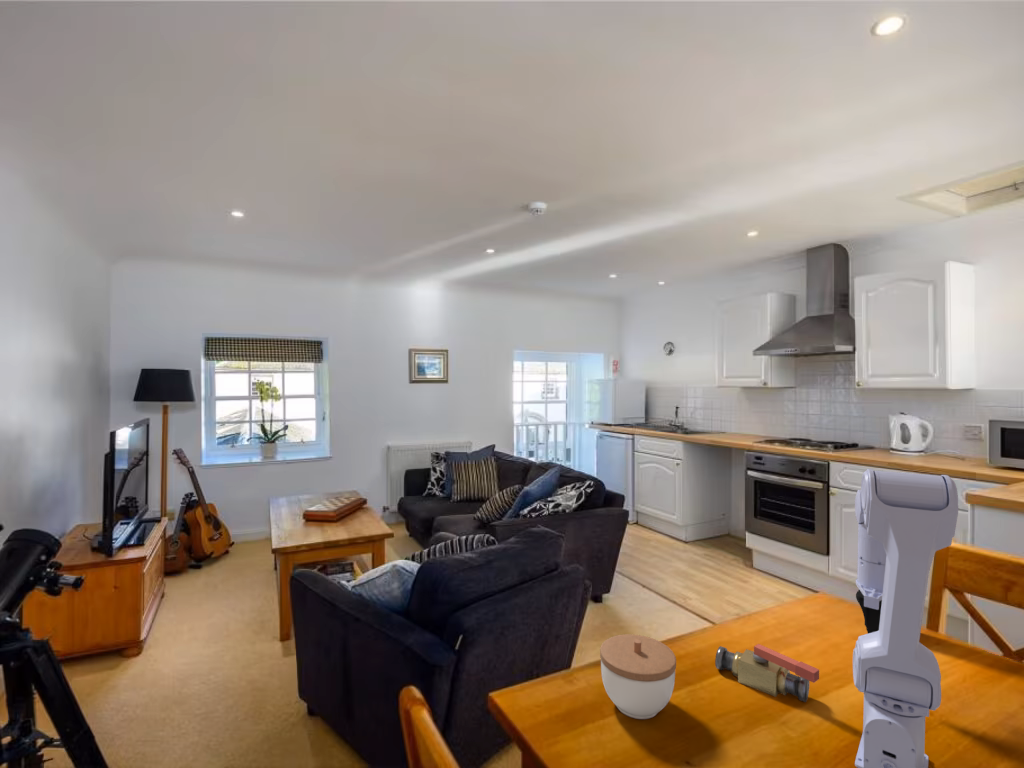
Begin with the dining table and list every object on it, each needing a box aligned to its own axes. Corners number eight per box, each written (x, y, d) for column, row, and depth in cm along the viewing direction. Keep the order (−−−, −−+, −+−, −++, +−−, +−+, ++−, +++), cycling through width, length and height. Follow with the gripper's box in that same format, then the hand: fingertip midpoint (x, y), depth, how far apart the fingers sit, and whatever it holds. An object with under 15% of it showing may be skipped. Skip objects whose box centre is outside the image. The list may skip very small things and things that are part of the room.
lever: (750, 658, 93) (750, 645, 93) (757, 653, 95) (757, 641, 94) (812, 687, 84) (813, 674, 84) (819, 682, 86) (820, 668, 86)
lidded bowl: (644, 676, 95) (644, 618, 94) (691, 719, 83) (693, 652, 83) (585, 692, 90) (586, 630, 90) (628, 739, 78) (629, 669, 78)
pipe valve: (809, 695, 90) (810, 671, 90) (803, 708, 86) (804, 683, 86) (723, 662, 100) (723, 641, 99) (714, 673, 96) (714, 650, 96)
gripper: (901, 577, 82) (900, 660, 82) (908, 554, 93) (906, 627, 93) (850, 566, 87) (848, 644, 87) (861, 545, 98) (860, 615, 98)
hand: (875, 634), depth 90 cm, fingers closed
